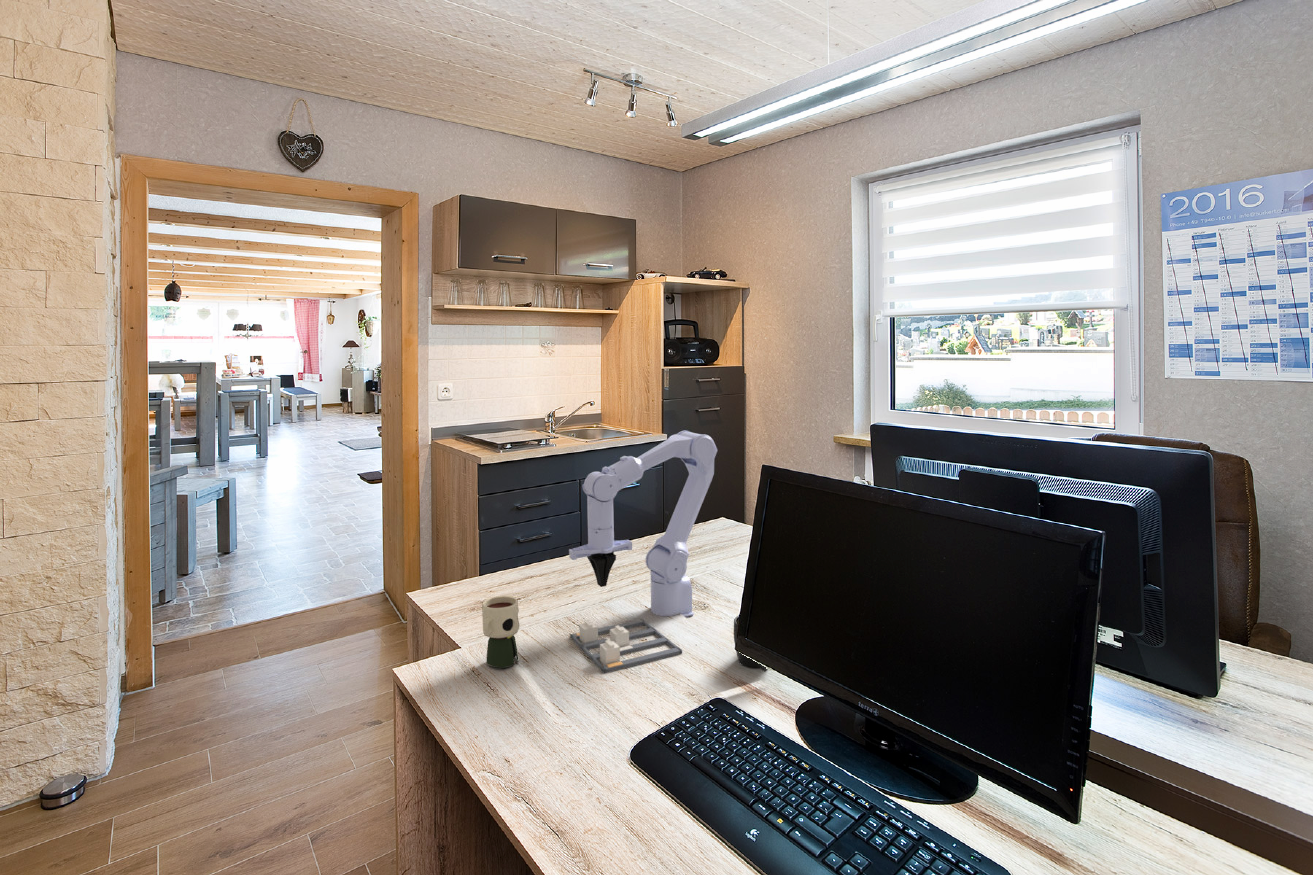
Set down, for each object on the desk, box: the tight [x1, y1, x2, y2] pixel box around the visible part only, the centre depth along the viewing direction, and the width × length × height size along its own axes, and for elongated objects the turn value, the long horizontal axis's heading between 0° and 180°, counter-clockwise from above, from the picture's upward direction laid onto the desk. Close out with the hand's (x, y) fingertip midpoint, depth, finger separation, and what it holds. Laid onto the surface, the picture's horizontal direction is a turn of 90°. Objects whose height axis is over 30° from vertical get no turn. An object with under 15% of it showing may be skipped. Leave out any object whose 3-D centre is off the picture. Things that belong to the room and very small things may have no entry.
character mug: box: [481, 595, 520, 669], centre depth 135 cm, size 11×7×13 cm, turn 158°
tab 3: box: [609, 624, 630, 648], centre depth 141 cm, size 3×3×4 cm
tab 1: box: [578, 620, 599, 644], centre depth 143 cm, size 3×3×4 cm
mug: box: [733, 615, 768, 672], centre depth 135 cm, size 8×12×10 cm
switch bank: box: [569, 618, 683, 674], centre depth 141 cm, size 17×18×2 cm
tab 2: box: [599, 640, 621, 665], centre depth 134 cm, size 3×3×4 cm
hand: (601, 585), depth 151 cm, fingers closed
